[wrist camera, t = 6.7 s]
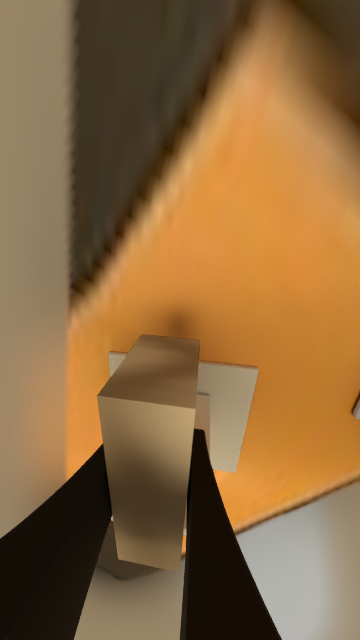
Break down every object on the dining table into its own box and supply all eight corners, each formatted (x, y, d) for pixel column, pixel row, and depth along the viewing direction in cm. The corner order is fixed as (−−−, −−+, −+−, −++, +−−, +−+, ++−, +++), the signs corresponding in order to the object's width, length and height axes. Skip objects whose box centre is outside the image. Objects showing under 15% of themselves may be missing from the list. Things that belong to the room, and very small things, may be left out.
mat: (257, 367, 18) (259, 369, 17) (235, 469, 23) (235, 472, 22) (110, 351, 19) (108, 353, 19) (119, 450, 24) (118, 453, 24)
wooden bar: (200, 340, 10) (195, 409, 6) (187, 470, 13) (179, 572, 9) (142, 334, 10) (97, 395, 6) (145, 463, 14) (118, 559, 9)
